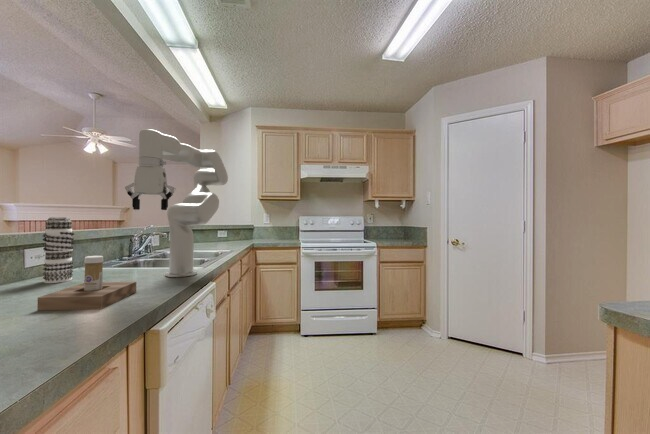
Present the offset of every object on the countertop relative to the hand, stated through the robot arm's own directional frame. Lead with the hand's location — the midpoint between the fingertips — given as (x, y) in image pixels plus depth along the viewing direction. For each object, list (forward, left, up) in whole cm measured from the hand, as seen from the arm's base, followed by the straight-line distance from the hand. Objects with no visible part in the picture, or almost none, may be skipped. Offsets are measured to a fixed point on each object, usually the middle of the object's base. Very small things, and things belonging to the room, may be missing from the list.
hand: (150, 209), depth 106 cm
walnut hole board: (+18, -8, -28) cm, 34 cm away
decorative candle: (-11, -39, -28) cm, 50 cm away
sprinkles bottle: (+18, -8, -28) cm, 35 cm away
